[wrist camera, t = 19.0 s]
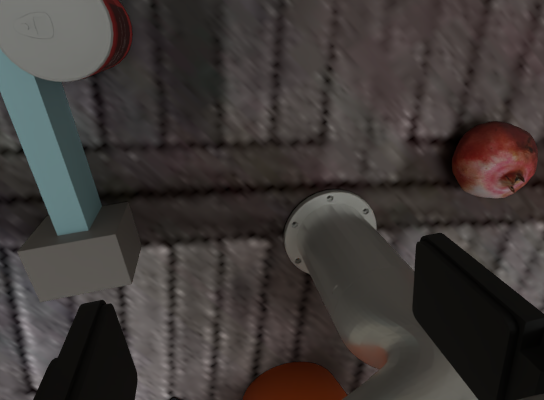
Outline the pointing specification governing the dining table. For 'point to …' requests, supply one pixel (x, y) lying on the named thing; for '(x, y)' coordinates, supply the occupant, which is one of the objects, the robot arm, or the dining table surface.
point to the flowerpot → (295, 384)
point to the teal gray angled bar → (65, 197)
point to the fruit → (494, 159)
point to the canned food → (64, 36)
